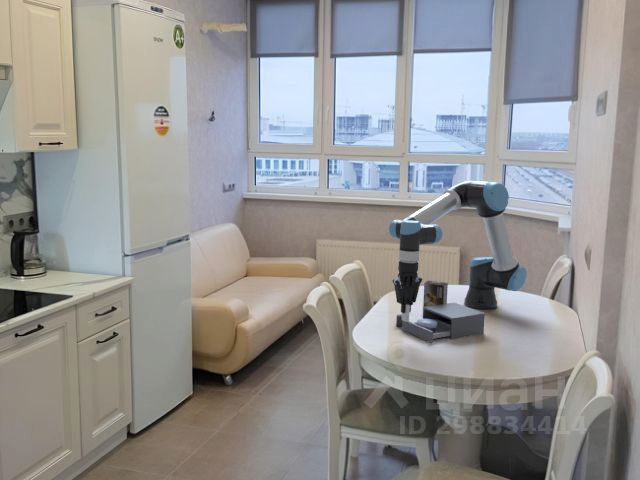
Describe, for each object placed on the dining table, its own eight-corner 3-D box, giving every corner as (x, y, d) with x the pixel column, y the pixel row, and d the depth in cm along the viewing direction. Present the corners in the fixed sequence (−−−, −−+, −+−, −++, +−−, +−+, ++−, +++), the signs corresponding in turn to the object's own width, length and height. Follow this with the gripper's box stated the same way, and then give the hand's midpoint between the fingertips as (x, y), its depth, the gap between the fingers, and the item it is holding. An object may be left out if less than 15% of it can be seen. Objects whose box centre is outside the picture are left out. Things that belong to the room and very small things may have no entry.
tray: (434, 324, 257) (435, 314, 256) (464, 336, 242) (464, 326, 241) (401, 329, 249) (402, 319, 248) (430, 342, 233) (431, 331, 233)
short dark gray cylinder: (403, 323, 258) (403, 314, 258) (410, 326, 254) (411, 317, 253) (393, 324, 256) (394, 315, 255) (401, 327, 252) (401, 318, 251)
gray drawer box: (453, 321, 262) (454, 302, 261) (483, 333, 247) (484, 313, 245) (422, 326, 254) (423, 307, 252) (451, 339, 238) (452, 318, 237)
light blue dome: (429, 321, 248) (429, 317, 248) (441, 327, 241) (441, 323, 241) (412, 323, 245) (413, 319, 245) (425, 329, 238) (425, 325, 237)
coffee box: (446, 318, 267) (448, 282, 264) (442, 322, 261) (444, 285, 258) (426, 315, 271) (428, 280, 268) (421, 318, 265) (423, 282, 263)
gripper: (415, 258, 240) (412, 316, 243) (389, 260, 233) (385, 320, 237) (428, 261, 233) (424, 321, 237) (400, 263, 227) (397, 325, 231)
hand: (405, 320), depth 237 cm, fingers closed
